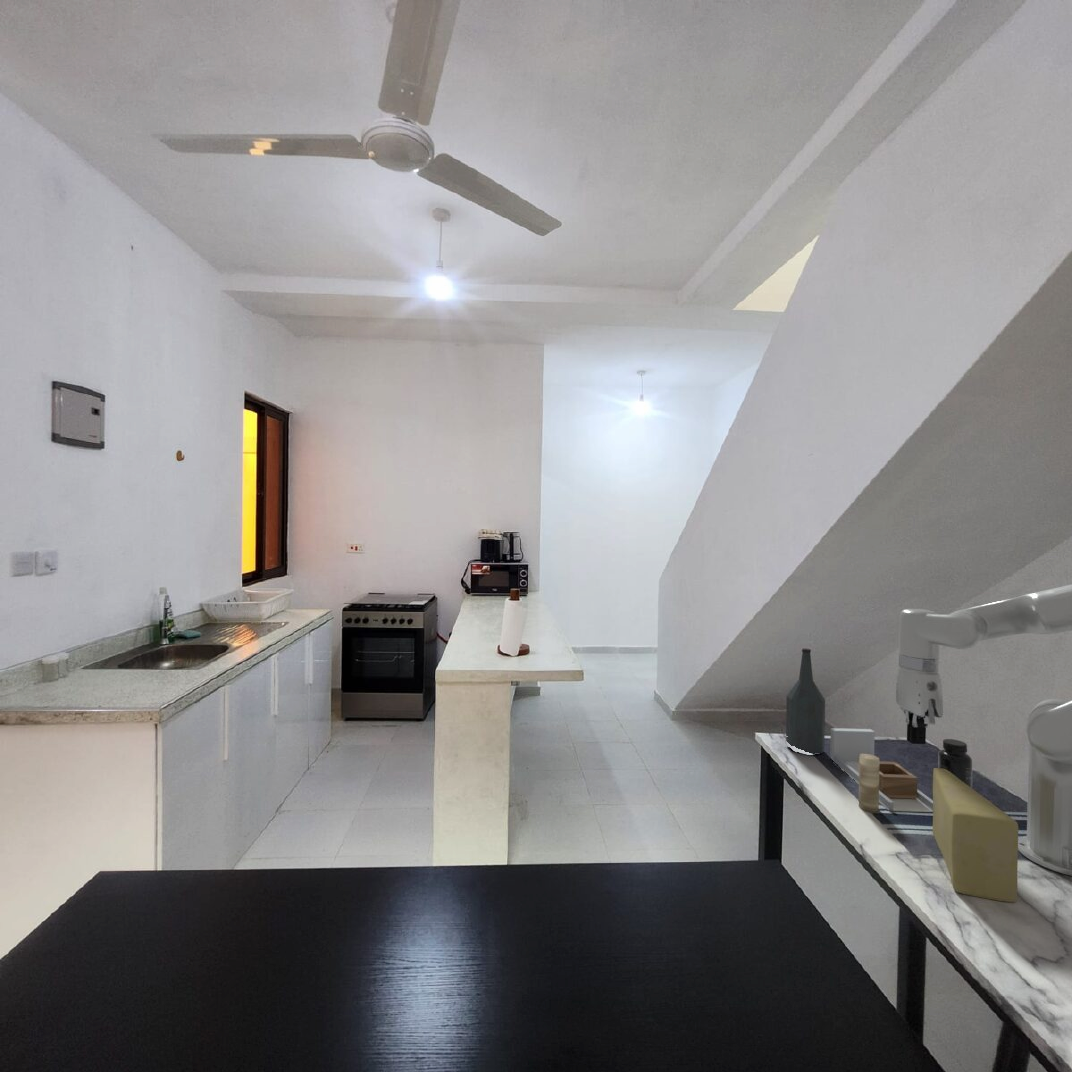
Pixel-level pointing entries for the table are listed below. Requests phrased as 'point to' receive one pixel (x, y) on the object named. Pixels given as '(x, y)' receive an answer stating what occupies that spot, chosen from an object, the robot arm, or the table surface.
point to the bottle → (806, 711)
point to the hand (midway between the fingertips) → (916, 742)
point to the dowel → (869, 782)
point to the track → (846, 755)
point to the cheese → (974, 840)
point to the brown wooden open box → (896, 781)
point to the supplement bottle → (956, 760)
